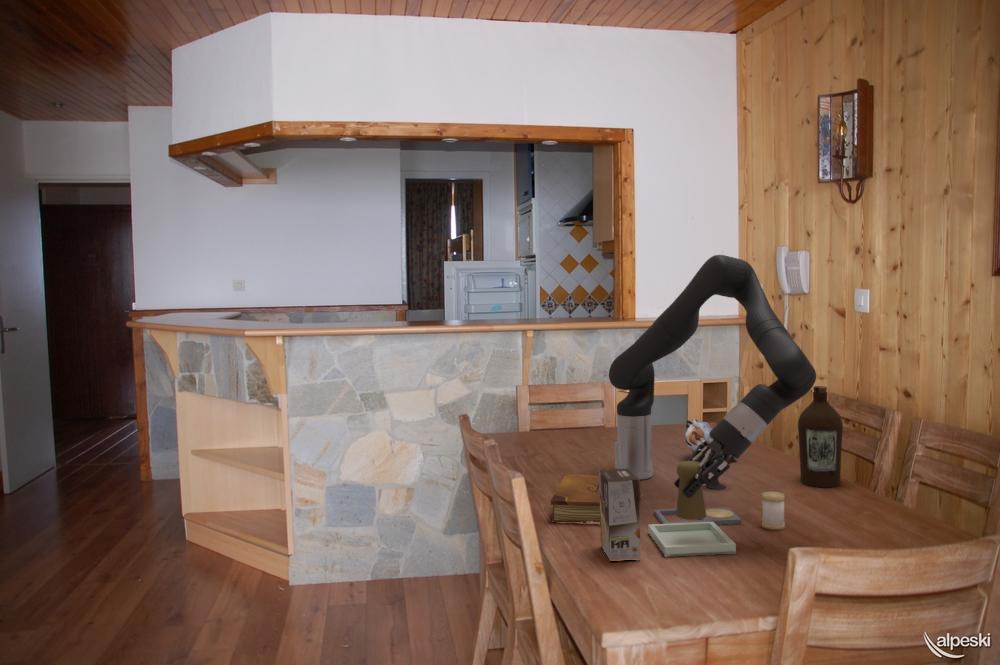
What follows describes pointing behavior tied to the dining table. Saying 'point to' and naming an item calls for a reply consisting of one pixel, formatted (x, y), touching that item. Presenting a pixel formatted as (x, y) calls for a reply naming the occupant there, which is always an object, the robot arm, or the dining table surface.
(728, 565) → the dining table surface
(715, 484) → the sundae
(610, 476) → the coffee box
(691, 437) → the lucky cat figurine
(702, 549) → the parts tray
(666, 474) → the dining table surface
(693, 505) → the cork
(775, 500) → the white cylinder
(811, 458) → the olive oil
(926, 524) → the dining table surface
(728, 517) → the socket block
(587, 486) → the diary
